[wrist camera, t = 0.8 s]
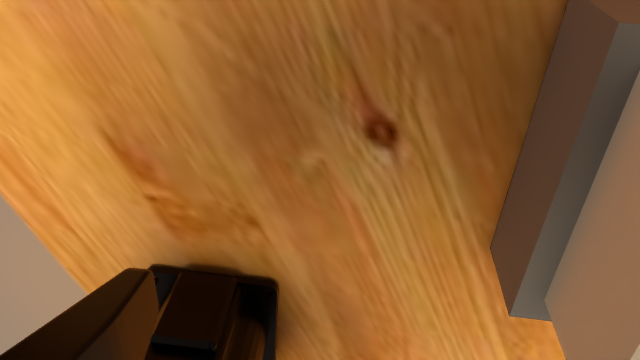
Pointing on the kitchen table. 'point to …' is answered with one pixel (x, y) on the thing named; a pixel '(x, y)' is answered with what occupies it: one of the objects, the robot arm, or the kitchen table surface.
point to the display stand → (565, 146)
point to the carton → (604, 256)
